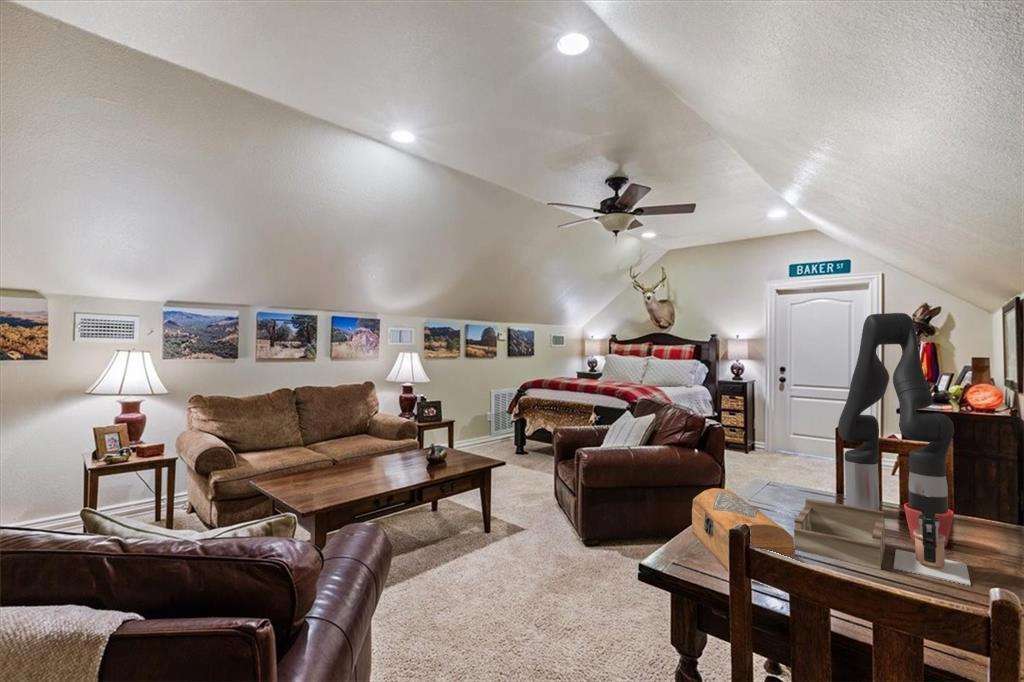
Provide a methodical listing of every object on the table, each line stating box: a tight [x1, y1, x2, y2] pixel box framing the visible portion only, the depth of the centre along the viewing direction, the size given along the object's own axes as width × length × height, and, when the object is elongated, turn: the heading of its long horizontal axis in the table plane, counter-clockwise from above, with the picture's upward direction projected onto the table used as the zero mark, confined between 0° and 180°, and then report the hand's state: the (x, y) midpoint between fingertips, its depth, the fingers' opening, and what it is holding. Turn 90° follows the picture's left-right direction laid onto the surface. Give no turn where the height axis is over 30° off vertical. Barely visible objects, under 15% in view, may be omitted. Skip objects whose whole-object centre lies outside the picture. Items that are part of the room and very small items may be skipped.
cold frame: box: [793, 497, 886, 570], centre depth 133 cm, size 19×19×10 cm
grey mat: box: [893, 548, 971, 587], centre depth 120 cm, size 14×14×1 cm
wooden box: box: [691, 487, 796, 572], centre depth 130 cm, size 30×16×14 cm, turn 176°
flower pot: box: [903, 502, 954, 548], centre depth 136 cm, size 11×11×10 cm
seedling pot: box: [913, 530, 946, 567], centre depth 120 cm, size 6×6×9 cm
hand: (929, 557), depth 120 cm, fingers closed on seedling pot, 5 cm apart
